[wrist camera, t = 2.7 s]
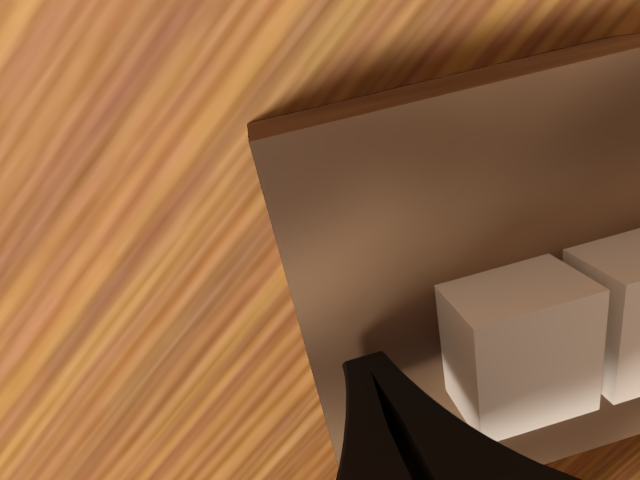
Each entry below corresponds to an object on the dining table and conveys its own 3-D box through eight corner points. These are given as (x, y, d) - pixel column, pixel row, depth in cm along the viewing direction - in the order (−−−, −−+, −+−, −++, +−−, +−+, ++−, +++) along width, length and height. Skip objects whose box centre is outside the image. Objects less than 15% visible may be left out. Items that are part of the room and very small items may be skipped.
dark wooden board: (591, 367, 22) (661, 427, 18) (334, 445, 21) (354, 525, 17) (616, 35, 16) (731, 24, 12) (247, 123, 14) (249, 142, 11)
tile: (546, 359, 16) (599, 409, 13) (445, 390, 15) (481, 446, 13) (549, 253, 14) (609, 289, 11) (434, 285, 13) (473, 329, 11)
